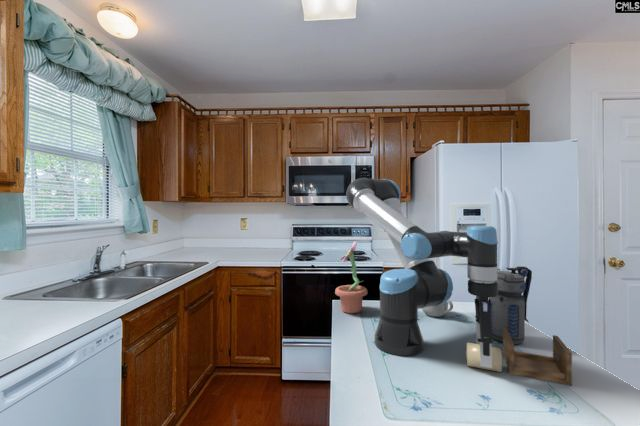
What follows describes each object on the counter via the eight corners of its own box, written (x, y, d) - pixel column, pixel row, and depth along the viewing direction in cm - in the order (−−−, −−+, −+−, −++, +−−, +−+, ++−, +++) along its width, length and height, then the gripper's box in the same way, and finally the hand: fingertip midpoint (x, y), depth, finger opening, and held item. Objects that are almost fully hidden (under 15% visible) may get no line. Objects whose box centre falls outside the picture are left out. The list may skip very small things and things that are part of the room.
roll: (466, 364, 85) (466, 367, 79) (465, 341, 86) (466, 343, 81) (499, 370, 81) (503, 374, 76) (498, 346, 83) (502, 348, 78)
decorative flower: (337, 304, 136) (337, 238, 136) (367, 305, 134) (367, 239, 134) (333, 315, 121) (333, 242, 121) (367, 317, 119) (367, 242, 119)
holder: (509, 373, 78) (509, 343, 78) (502, 355, 88) (503, 328, 88) (571, 385, 73) (571, 353, 73) (557, 364, 83) (557, 335, 83)
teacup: (415, 311, 126) (415, 292, 126) (436, 309, 129) (436, 290, 129) (437, 323, 113) (437, 302, 113) (460, 320, 116) (460, 299, 116)
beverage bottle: (539, 347, 93) (540, 267, 93) (494, 344, 95) (494, 266, 95) (522, 333, 103) (522, 262, 103) (481, 331, 105) (481, 261, 105)
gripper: (505, 292, 71) (506, 380, 71) (492, 273, 94) (493, 340, 94) (470, 289, 74) (471, 374, 74) (465, 271, 97) (466, 336, 97)
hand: (483, 355), depth 84 cm, fingers open, 13 cm apart
